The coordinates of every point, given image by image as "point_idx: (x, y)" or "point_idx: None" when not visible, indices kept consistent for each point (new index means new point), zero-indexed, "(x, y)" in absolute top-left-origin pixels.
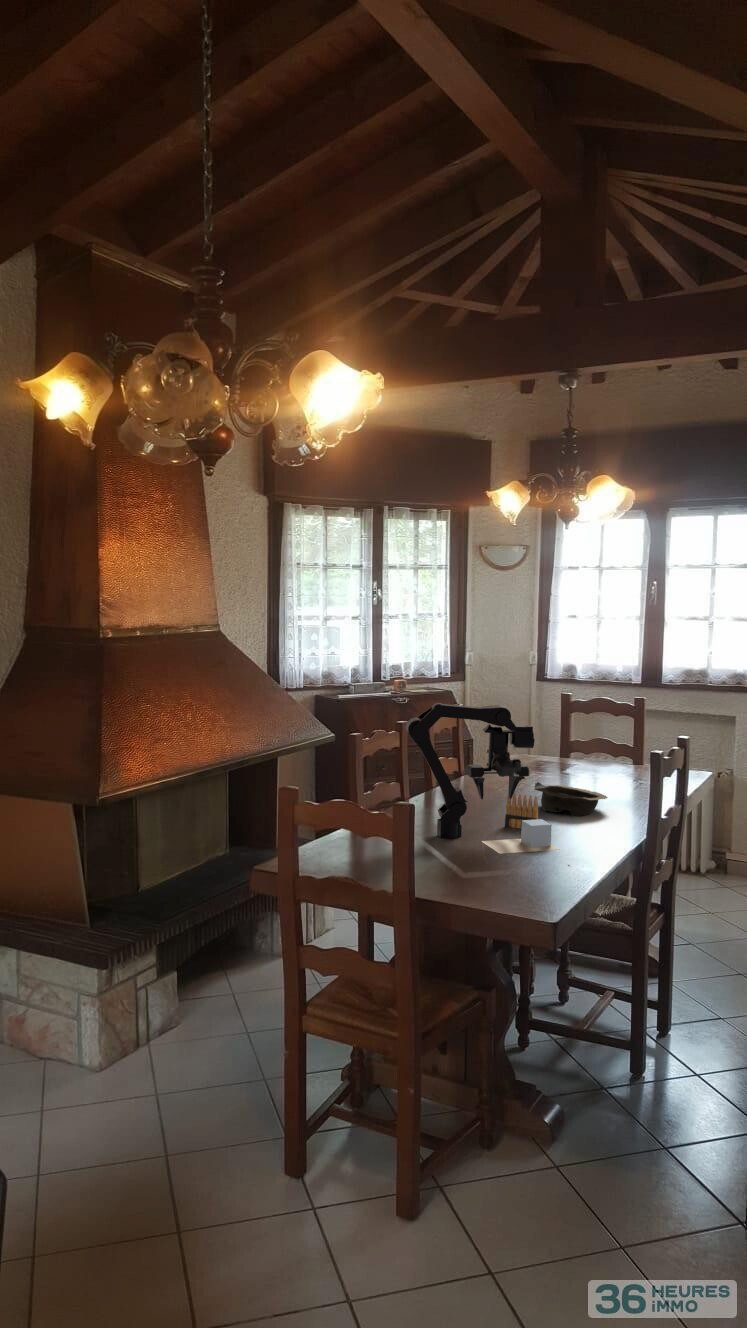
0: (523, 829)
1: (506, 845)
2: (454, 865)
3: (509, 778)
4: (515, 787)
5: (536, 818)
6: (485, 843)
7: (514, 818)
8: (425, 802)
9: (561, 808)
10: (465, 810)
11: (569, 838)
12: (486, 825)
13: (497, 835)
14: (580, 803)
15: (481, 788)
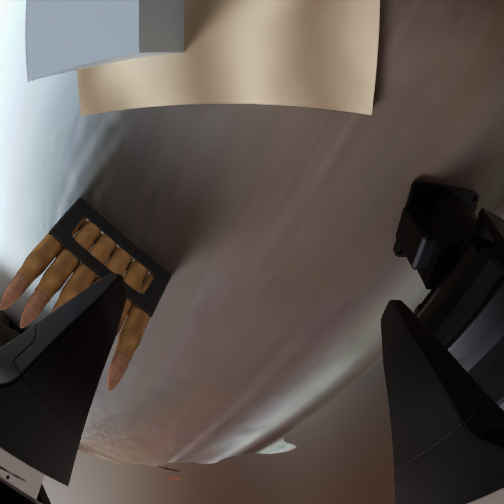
0: (159, 26)
1: (286, 12)
2: None
3: (70, 449)
4: (32, 331)
5: (48, 234)
6: (372, 75)
7: (125, 284)
8: (273, 441)
9: (16, 334)
10: (477, 249)
11: (5, 141)
12: (213, 326)
13: (223, 223)
14: None
15: (455, 375)
